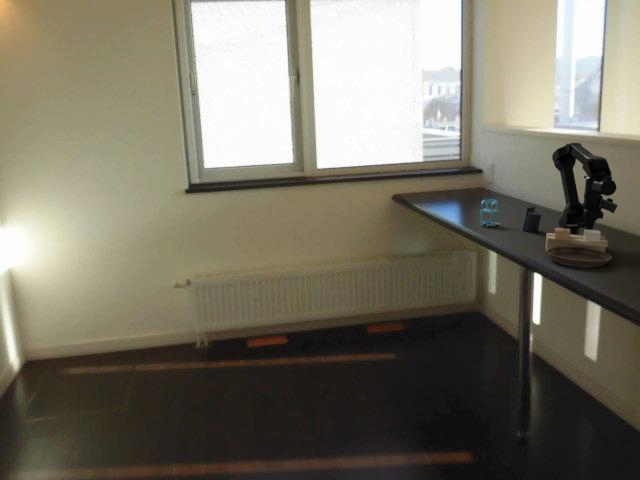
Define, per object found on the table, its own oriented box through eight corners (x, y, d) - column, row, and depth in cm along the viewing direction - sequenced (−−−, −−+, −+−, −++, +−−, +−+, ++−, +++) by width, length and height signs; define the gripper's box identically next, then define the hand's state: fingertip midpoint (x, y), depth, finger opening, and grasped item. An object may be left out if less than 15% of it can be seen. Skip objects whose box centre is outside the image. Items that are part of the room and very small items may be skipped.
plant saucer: (592, 255, 218) (593, 246, 217) (622, 269, 198) (623, 260, 197) (537, 255, 218) (538, 246, 217) (561, 270, 197) (562, 260, 197)
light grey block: (583, 237, 218) (584, 229, 218) (598, 238, 217) (599, 230, 216) (584, 240, 214) (585, 232, 213) (600, 241, 212) (600, 232, 211)
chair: (476, 225, 272) (477, 199, 270) (484, 223, 278) (486, 197, 276) (491, 227, 267) (493, 201, 264) (500, 225, 273) (501, 199, 270)
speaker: (518, 229, 262) (523, 206, 259) (530, 229, 264) (534, 206, 261) (529, 234, 256) (533, 210, 252) (540, 234, 257) (545, 210, 254)
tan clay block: (554, 235, 221) (554, 227, 221) (568, 236, 220) (569, 228, 219) (555, 238, 217) (555, 230, 216) (569, 239, 215) (570, 231, 214)
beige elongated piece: (545, 248, 228) (546, 232, 226) (602, 251, 221) (604, 236, 220) (546, 254, 217) (547, 238, 216) (606, 258, 211) (608, 242, 210)
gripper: (621, 196, 208) (616, 239, 212) (613, 189, 226) (609, 229, 229) (586, 195, 212) (582, 237, 215) (581, 188, 229) (577, 228, 233)
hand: (589, 233), depth 223 cm, fingers closed
